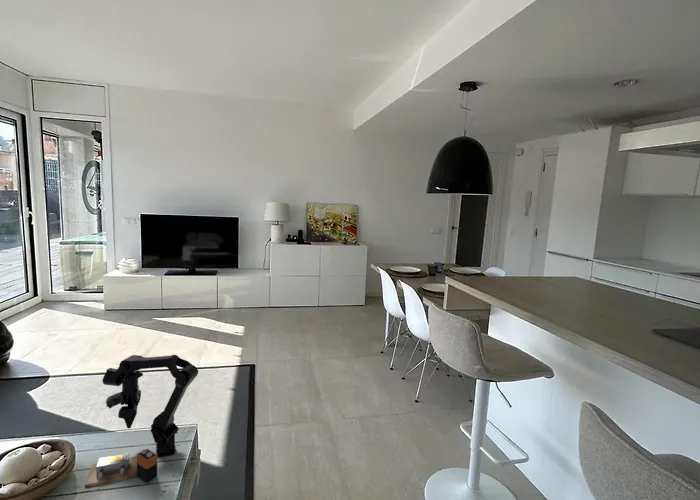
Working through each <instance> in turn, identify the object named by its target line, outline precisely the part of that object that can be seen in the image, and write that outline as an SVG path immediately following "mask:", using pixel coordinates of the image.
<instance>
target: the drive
mask: <svg viewBox="0 0 700 500" xmlns="http://www.w3.org/2000/svg"><path fill="white" fill-rule="evenodd" d="M129 457H130V452H126V453H120V454H113V455H109V456H108V455H107V456H104V457H102V456H101V457H99V459H98V462H97V463H98V464H97V466H96V477H98V473H99V472H102V476H105V475H110V474H115V473H120V469H121V468H124V472H125V471H128V467H129Z"/></svg>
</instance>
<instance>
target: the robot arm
mask: <svg viewBox="0 0 700 500" xmlns="http://www.w3.org/2000/svg"><path fill="white" fill-rule="evenodd" d="M178 367H179V368H182V369H181V370H180V369H179V368H178ZM160 368H167V369H168V370H169V373H170V374H171V376H172V377H173V378H174V385H175V387H174V389H173V391H172V393H171V395H170V397H169V399H168V402H167V404H166V405H165V407H164V409H163V411H162V412H160V413H159V414H158V415H156V416H155V418H154V419H153V421H152V424H151V425H150V427H151V429H150V432H151V434H152V437H153V440H154V443H156V444H155V445H156V448H155V454H156V455H157V458H162V457H168V456H172V455H175V454H176V443H175V442H176V434H177V433H178V431H179V427H178V426H177V425H176V424H175V413H176V411H177V409H178V407H179V406H180V403H181V401H182V399H183V397H184V394H185V392H186V391H187V389H188V388H189V386H190V385H191V383H193V381H194V380H195V379H196V378H197V376H198V374H199V370H198V368H197V366H196V365H194V364H192V363H191V362H189V361H188V360H186V359H184V358H181V357H180V356H178V355H177V354H171V355H159V356H150V357H149V356H148V357H147V356H146V357H145V356H142V355H138V354H132V355H130V356H128V357H126V358H124V359H122V360H121V361H120V363H119V365H118V367H117V368H112V367H110V368H107V369H106V370H105V371H106V372H105V373H104V375H103V377H102V384H103V385H105V386H114V387H120V386H121V391H119V392H116V393H115V394H112V395H110V396H107V398H106V400H105V404H106V407H107V408H108V409H113V407H116V406H118V405H120V406H121V407H120V408H119V409H118V410H119V411H118V414H117V415H118V416H117V417H118V419H123V420H124V423H125V425H126V429H131V428H132V425H133V423H134V421H135V419H136V416H137V414H138V406H139V404H140V401H141V398H142V397H141V396H142V390H140V389H139V388H140V385H139V378H141V377H142V376H144V374H143V373H142V372H141V371H140V370H146V369H147V370H148V369H160Z"/></svg>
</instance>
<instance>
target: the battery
mask: <svg viewBox="0 0 700 500" xmlns="http://www.w3.org/2000/svg"><path fill="white" fill-rule="evenodd" d="M136 456H137V471H136V476H137V477H138V478H139V479H141V480H142V481H143V482H144V483H146V484H147V483H149V482H151V481H152V480H155V479H156V478H158V457H157V453H156V452H155V453H154V452H153V451H152V450H150V449H149V448H145V449H142V450H141V451H140V452H138V453H137V454H136Z"/></svg>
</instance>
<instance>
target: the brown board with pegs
mask: <svg viewBox="0 0 700 500" xmlns="http://www.w3.org/2000/svg"><path fill="white" fill-rule="evenodd" d="M97 464H98V462H96V463H92V464H91V466H90V469H89V472H88V474H87V477H86V480H85V483H84V488H88V487H94V486H98V485H104V484H109V483H110V484H111V483H114V482H115V483H116V482H118V481H119V482H120V481H125V480H130V479H133V478H134V479H135V478H136V476H137V455H135V456H129V467H128V471H125V472H124V468H121V469H120V473H115V474H110V475H105V476H102V472H99V473H98V477H96V466H97Z"/></svg>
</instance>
